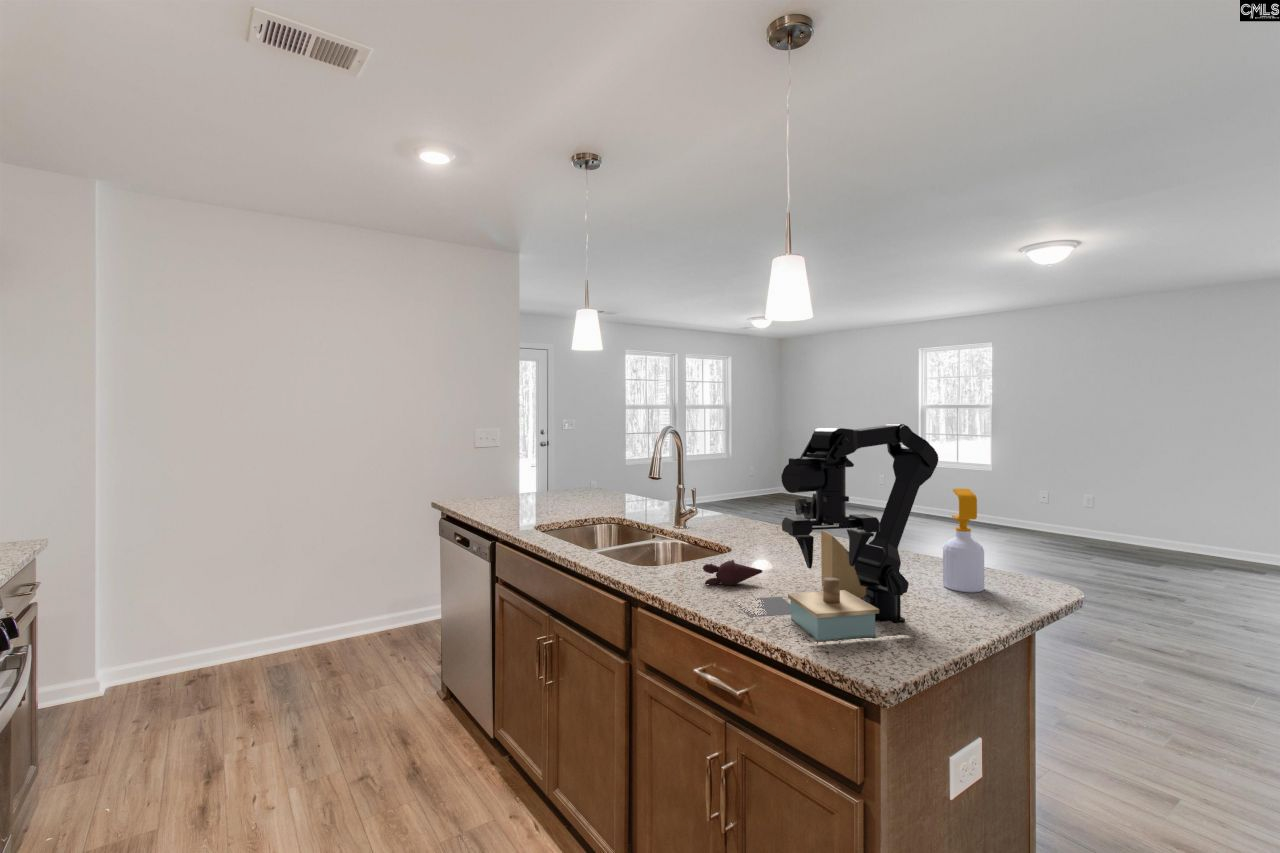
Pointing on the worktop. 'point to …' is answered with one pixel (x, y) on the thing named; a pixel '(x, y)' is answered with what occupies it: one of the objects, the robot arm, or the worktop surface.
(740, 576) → the icecream
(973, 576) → the soap bottle
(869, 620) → the light blue box
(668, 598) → the worktop surface
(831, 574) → the sandwich container
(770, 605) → the mat
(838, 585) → the lid
